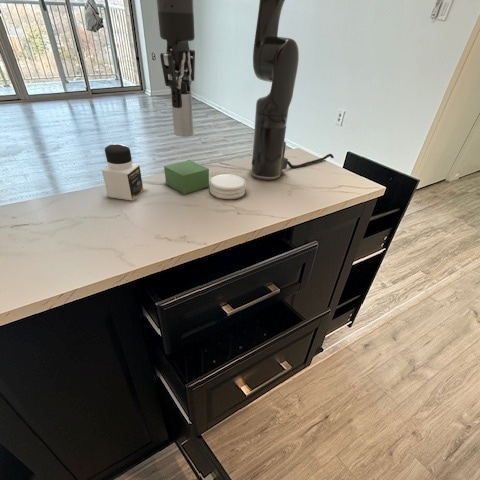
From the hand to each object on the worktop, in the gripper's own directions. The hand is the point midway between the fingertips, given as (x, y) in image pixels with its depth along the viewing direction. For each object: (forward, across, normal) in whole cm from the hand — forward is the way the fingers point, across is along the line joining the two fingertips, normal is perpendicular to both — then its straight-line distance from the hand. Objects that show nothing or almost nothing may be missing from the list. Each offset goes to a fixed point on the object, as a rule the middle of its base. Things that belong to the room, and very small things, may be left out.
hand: (182, 105), depth 79 cm
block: (+20, +1, 0) cm, 20 cm away
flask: (+6, 0, 0) cm, 6 cm away
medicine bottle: (+20, -12, +13) cm, 27 cm away
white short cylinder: (+20, 0, -12) cm, 24 cm away
